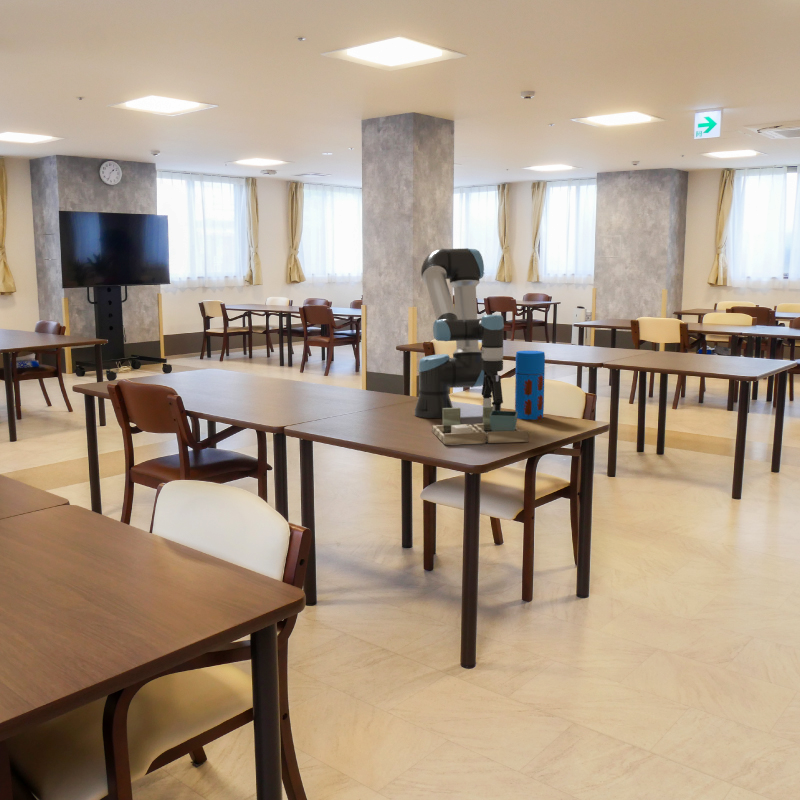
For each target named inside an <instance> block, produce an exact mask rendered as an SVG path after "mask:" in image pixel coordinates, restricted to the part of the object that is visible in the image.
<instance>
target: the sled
mask: <svg viewBox="0 0 800 800" xmlns="http://www.w3.org/2000/svg"><path fill="white" fill-rule="evenodd" d="M452 425H467V426H469V427H471V433H451V426H452ZM431 432H432V433H433V434H434V435H435V436H436V437H437V438H438V440H440V442H441V443H442V444H444V445H445V446H448V445H449V446H451V445H452V446H453V445H471V444H472V445H475V444H486V441H485V439H486V433H487V432H486V431H485V432H486V433H485V432H479V431H477V430H476V429H475V428H474V427H473V426H472V424H470V423H463V424H462V423H461V407H453V408H443V418H442V424H436V425H435V424H434V425H431ZM444 432H445V433H444ZM446 432H447V433H446ZM448 432H450V433H448Z"/></svg>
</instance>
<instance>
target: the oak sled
mask: <svg viewBox="0 0 800 800" xmlns="http://www.w3.org/2000/svg"><path fill="white" fill-rule="evenodd" d="M491 411H493V406H491V407H483V406H482V423H471V426H473V427H474V428H475V429H476V430H477V431H479V432H485V433H486V439H485V442H486V443H487V444H494V443H495V444H499V443H500V444H502V443H526V442H529V435H530V434H529V433H530V431H529V430H522V429H520V428H518V427H517V426H516V428H515V431H498V432H491V426H490V414H491ZM486 431H487V432H486Z"/></svg>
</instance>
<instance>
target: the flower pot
mask: <svg viewBox="0 0 800 800" xmlns="http://www.w3.org/2000/svg"><path fill="white" fill-rule="evenodd" d="M517 414H518V412H516V411H515V410H514V411H512V410H510V411H509V410H501V411H491V414H490V426H491V430H490V432H498V431H515V428H516V427H517V421H518V418H517Z"/></svg>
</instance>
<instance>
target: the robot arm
mask: <svg viewBox="0 0 800 800" xmlns="http://www.w3.org/2000/svg"><path fill="white" fill-rule="evenodd" d="M420 271H421V272H420V274H421V278H422V282H423V284H425V285H426V288H427V290H428V293H429V294H428V295H429V298H430V301H431V305H432V309H433V313H434V315H435V318H436V320H434V322H433V326H432V331H433V332H432V333H433V338H434V340H436V341H438V342H456V343H455V344H456V349H455V350H454V352H453V353H452V357H450V355H449V354H448V353H441V354H440V353H439V354H432V355H426V356H423V357H422V358H420V360H419V362H418V372H419V373H418V398H417V401H416V404H415V408H414V416H416V417H419V418H427V419H443V408H454V407H453V404H452V400H451V398H450V389H451V388H453V389H454V388H455V389H456V388H475V387H482V388H481V396H482V397H483V398H482V400H483V401H482V402H483V405H482V408H483V407H493V411H502V404H503V403H504V400H503V399H504V397H503V391H502V379H501V378H502V376H501V374H500V375H499V373H498V372H501V371H503V369H504V360H503V358H504V327H505V324H504V323H505V322H504V317H503V315H502V314H484V315H482V317H481V318H478V310H477V309H478V308H477V307H478V305H477V286H478V285H479V284H480V279H483V277H484V274H485V264H484V259H483V256H482V254H481V252H480V250H478V249H476V248H467V247H466V248H437V249H435V250H434V251H431V252H430V253H429V254H428V255H427V256H426V257H425V259H424V261H422V265H421V270H420ZM447 280H449V284H448V282H447ZM448 285H450V286H451V287H452V288H453V293H454V294H453V296H454V301H453V299H452V296H451V295H452V294H451V291H450V289H449V286H448ZM479 341H481V349H480V347H479Z"/></svg>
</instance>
